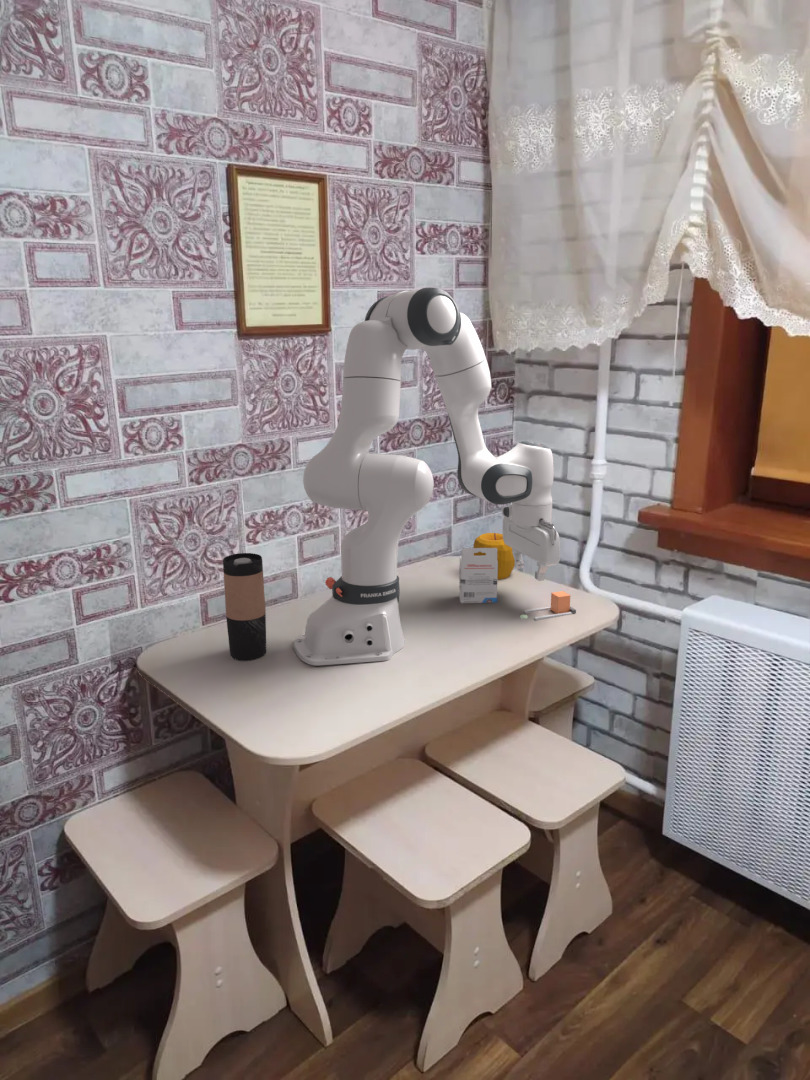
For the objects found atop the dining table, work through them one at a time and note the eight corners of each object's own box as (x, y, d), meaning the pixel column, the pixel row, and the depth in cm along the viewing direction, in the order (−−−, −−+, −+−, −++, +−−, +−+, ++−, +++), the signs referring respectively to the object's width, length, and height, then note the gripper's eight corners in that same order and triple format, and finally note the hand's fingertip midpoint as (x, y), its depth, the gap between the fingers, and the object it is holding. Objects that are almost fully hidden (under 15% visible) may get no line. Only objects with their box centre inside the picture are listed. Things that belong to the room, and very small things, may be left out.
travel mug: (263, 644, 163) (258, 551, 157) (271, 658, 156) (266, 561, 150) (226, 649, 160) (219, 555, 155) (232, 664, 153) (225, 566, 148)
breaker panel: (528, 630, 169) (528, 618, 168) (496, 607, 183) (496, 596, 182) (577, 623, 173) (578, 611, 173) (543, 601, 187) (543, 590, 186)
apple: (524, 581, 201) (526, 533, 197) (497, 592, 193) (499, 541, 190) (490, 572, 208) (491, 525, 205) (463, 582, 201) (464, 533, 197)
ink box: (494, 602, 187) (496, 542, 183) (497, 609, 182) (499, 548, 178) (458, 602, 186) (459, 542, 182) (460, 609, 182) (461, 548, 178)
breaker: (557, 615, 173) (558, 597, 172) (550, 611, 176) (551, 592, 175) (569, 614, 174) (570, 595, 173) (562, 609, 177) (563, 591, 176)
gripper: (569, 523, 167) (565, 585, 171) (522, 503, 186) (520, 560, 189) (542, 526, 165) (540, 589, 169) (498, 506, 184) (496, 562, 187)
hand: (529, 573), depth 179 cm, fingers open, 8 cm apart
